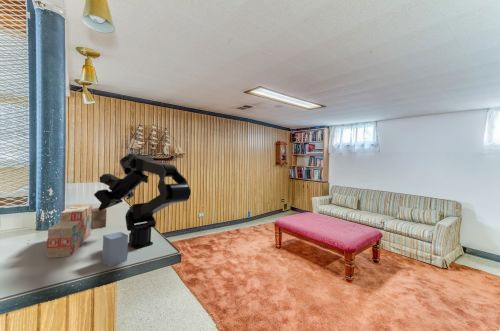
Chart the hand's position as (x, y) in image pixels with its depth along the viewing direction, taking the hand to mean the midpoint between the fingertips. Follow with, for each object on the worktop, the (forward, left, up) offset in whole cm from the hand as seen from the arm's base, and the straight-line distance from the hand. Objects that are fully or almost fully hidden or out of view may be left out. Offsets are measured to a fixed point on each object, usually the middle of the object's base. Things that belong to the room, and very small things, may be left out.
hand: (99, 209), depth 87 cm
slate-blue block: (+4, +23, -11) cm, 26 cm away
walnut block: (-6, -17, -11) cm, 21 cm away
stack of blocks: (+8, 0, -12) cm, 14 cm away
